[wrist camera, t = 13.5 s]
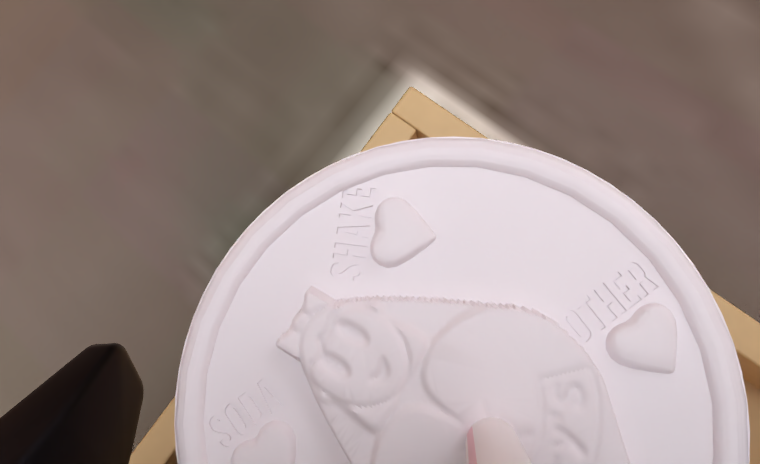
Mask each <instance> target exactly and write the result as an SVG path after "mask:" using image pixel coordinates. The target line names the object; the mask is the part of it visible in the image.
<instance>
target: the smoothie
mask: <svg viewBox="0 0 760 464" xmlns="http://www.w3.org/2000/svg"><path fill="white" fill-rule="evenodd" d="M174 427H175V447H176V456H177V463H178V464H749V462H750V425H749V414H748V402H747V396H746V391H745V385H744V380H743V374H742V370H741V366H740V363H739V360H738V356H737V353H736V349H735V346H734V342H733V340H732V337H731V335H730V332H729V330H728V327H727V325H726V322H725V320H724V317H723V315H722V313H721V311H720V309H719V307H718V305H717V303H716V301H715V299H714V297H713V295H712V293H711V291H710V289H709V288H708V286H707V284H706V283H705V281H704V280H703V278H702V277H701V275H700V274H699V272H698V270H697V269H696V267H695V266H694V264H693V263H692V261H691V260H690V259H689V258H688V256H687V255H686V254H685V252H684V251H683V250H682V249H681V247H680V246H679V245H678V244H677V242H676V241H675V240H674V239H673V238H672V237H671V236H670V235H669V233H668V232H667V231H666V230H665V229H664V228H663V227H662V226H661V225H660V224H659V223H658V222H657V221H656V220H655V219H654V218H653V217H652V216H651V215H650V214H648V213H647V212H646V211H645V210H644V209H643V208H641V207H640V206H639V205H638V204H637V203H636V202H635V201H633V200H632V199H631V198H629V197H628V196H627V195H625V194H624V193H622V192H621V191H620V190H618V189H617V188H615V187H614V186H613V185H611V184H610V183H608V182H606V181H605V180H603V179H601V178H599V177H598V176H596V175H594V174H593V173H591V172H589V171H587V170H586V169H584V168H582V167H579V166H577V165H575V164H573V163H571V162H568V161H566V160H564V159H562V158H560V157H557V156H554V155H551V154H548V153H546V152H543V151H540V150H537V149H534V148H530V147H526V146H522V145H518V144H514V143H510V142H505V141H498V140H492V139H485V138H474V137H455V136H453V137H428V138H420V139H413V140H406V141H400V142H396V143H391V144H387V145H383V146H378V147H375V148H372V149H369V150H366V151H363V152H360V153H357V154H354V155H351V156H349V157H347V158H345V159H342V160H340V161H338V162H336V163H333V164H331V165H329V166H327V167H325V168H323V169H322V170H320V171H318V172H316V173H314V174H313V175H311V176H309V177H307V178H306V179H304V180H303V181H301V182H300V183H298V184H297V185H296V186H294V187H293V188H291V189H290V190H288V191H287V192H286V193H284V194H283V195H282V196H281V197H279V198H278V199H277V200H276V201H275V202H274V203H272V204H271V205H270V206H269V207H268V208H266V209H265V210H264V211H263V212H262V213H261V214H260V215H259V216H258V217H257V218H256V219H255V220H254V221H253V222H252V223H251V224H250V225H249V227H248V228H247V229H246V230H245V231H244V232H243V234H242V235H241V236H240V237H239V238H238V240H237V241H236V242H235V243H234V245H233V246H232V247H231V248H230V250H229V251H228V253H227V254H226V256H225V257H224V259H223V260H222V262H221V263H220V265H219V266H218V268H217V269H216V271H215V273H214V275H213V276H212V278H211V280H210V282H209V284H208V286H207V287H206V289H205V291H204V293H203V295H202V298H201V300H200V302H199V305H198V307H197V309H196V312H195V314H194V316H193V319H192V322H191V325H190V328H189V331H188V334H187V338H186V341H185V344H184V349H183V353H182V357H181V362H180V366H179V372H178V380H177V387H176V395H175V418H174Z"/></svg>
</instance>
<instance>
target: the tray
mask: <svg viewBox="0 0 760 464" xmlns="http://www.w3.org/2000/svg"><path fill="white" fill-rule="evenodd" d="M453 136H455V137H474V138H485V139H488V138H487V137H485V136H484V135H482V134H481V133H479V132H478V131H476V130H475V129H473V128H472V127H470V126H469V125H468V124H466V123H465V122H463V121H462V120H460V119H459V118H457V117H456V116H454V115H453V114H451V113H450V112H448V111H447V110H445V109H444V108H443V107H441V106H440V105H438V104H437V103H435V102H434V101H432V100H431V99H429V98H428V97H426V96H425V95H423V94H422V93H421V92H419V91H418V90H416V89H415V88H413V87H409V88H408V90H407V91H406V92H405V94H404V95H403V96H402V98H401V99H400V100H399V102H398V103H397V104H396V106H395V107H394V108H393V110H392V113H390V114H389V115H388V116H387V117H386V119H385V120H384V121H383V123H382V124H381V125H380V127H379V128H378V129H377V131H376V132H375V133H374V135H373V136H372V137H371V139H370V140H369V141H368V142H367V144H366V145H365V146H364V148H363V149H362V150H361V152H363V151H366V150H369V149H372V148H375V147H378V146H383V145H387V144H391V143H396V142H400V141H406V140H413V139H420V138H428V137H453ZM710 291H711V290H710ZM711 293H712V295H713V297H714V299H715V301H716V303H717V305H718V307H719V309H720V311H721V313H722V315H723V317H724V320H725V322H726V325H727V327H728V330H729V332H730V335H731V337H732V340H733V342H734V346H735V349H736V353H737V356H738V360H739V363H740V366H741V370H742V374H743V380H744V385H745V391H746V396H747V402H748V414H749V425H750V462H749V464H760V323H759V322H757V321H756V320H754V319H753V318H751V317H750V316H748V315H747V314H745V313H744V312H742V311H741V310H739V309H738V308H736V307H735V306H734V305H732V304H731V303H729V302H728V301H726V300H725V299H723V298H722V297H720V296H719V295H717V294H716V293H714V292H713V291H711ZM174 418H175V397H174V398H173V400H172V401H171V402H170V404H169V405H168V406H167V408H166V409H165V410H164V412H163V413H162V414H161V416H160V417H159V418H158V419H157V421H156V422H155V423H154V425H153V426H152V427H151V429H150V430H149V431H148V433H147V434H146V435H145V437H144V438H143V439H142V441H141V442H140V443H139V445H138V446H137V447H136V448H135V450H134V451H133V452H132V454H131V456H130V461H129V464H178V463H177V456H176V447H175V427H174Z"/></svg>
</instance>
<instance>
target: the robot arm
mask: <svg viewBox="0 0 760 464" xmlns="http://www.w3.org/2000/svg"><path fill="white" fill-rule="evenodd" d="M142 401H143V384H142V381H141V378H140V377H139V375H138V373H137V371H136V369H135V367H134V365H133V363H132V361H131V359H130V357H129V355H128V353H127V351H126V350H125V348H124V347H123V346H122V345H120V344H117V343H112V344H95V345H91V346H89V347H87V348H86V349H85V350H83V351H82V352H81V353H80V354H78V355H77V356H76V357H75V358H74V359H72V360H71V361H70V362H69V363H67V364H66V365H65V366H64V367H63V368H61V369H60V370H59V371H58V372H56V373H55V374H54V375H53V376H51V377H50V378H49V379H48V380H47V381H45V382H44V383H43V384H42V385H40V386H39V387H38V388H37V389H35V390H34V391H33V392H32V393H31V394H29V395H28V396H27V397H26V398H24V399H23V400H22V401H21V402H19V403H18V404H17V405H16V406H15V407H13V408H12V409H11V410H10V411H8V412H7V413H6V414H5V415H3V416H2V417H1V418H0V464H129V461H130V456H131V451H132V447H133V442H134V438H135V433H136V428H137V424H138V419H139V414H140V410H141V405H142Z"/></svg>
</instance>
